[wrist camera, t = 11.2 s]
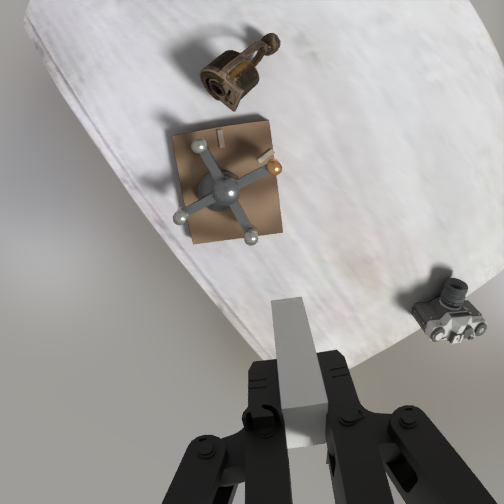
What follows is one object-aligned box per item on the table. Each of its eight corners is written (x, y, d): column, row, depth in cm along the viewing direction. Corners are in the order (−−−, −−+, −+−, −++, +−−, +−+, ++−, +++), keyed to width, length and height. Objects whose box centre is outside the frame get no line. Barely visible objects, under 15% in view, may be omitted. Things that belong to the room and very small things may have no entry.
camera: (477, 275, 54) (503, 298, 45) (463, 314, 58) (484, 340, 49) (422, 275, 54) (446, 302, 44) (408, 318, 58) (428, 348, 48)
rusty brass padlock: (198, 96, 41) (184, 89, 32) (237, 25, 37) (234, 2, 28) (241, 115, 43) (239, 114, 34) (281, 44, 38) (289, 25, 29)
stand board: (174, 135, 44) (171, 136, 42) (269, 120, 43) (270, 120, 41) (195, 239, 50) (192, 245, 48) (282, 228, 50) (284, 233, 48)
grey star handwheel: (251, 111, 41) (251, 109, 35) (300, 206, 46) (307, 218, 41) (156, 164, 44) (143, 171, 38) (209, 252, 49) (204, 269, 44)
